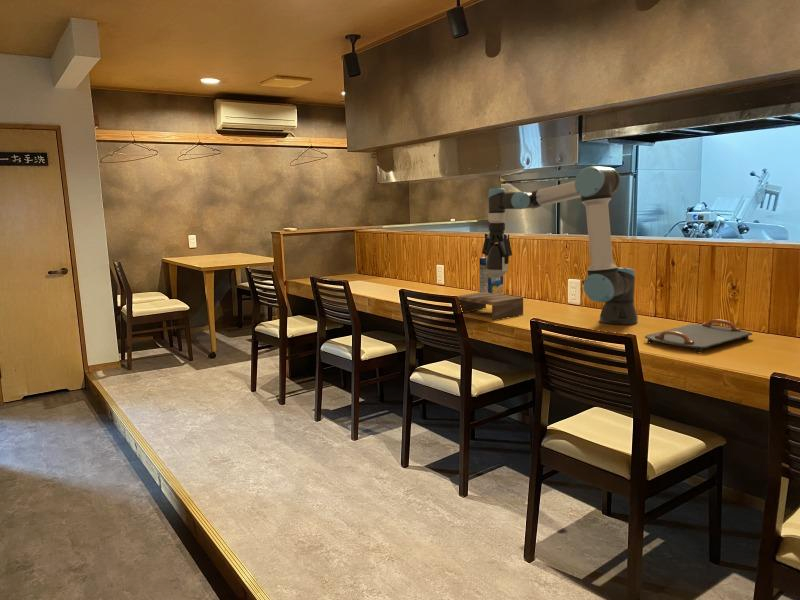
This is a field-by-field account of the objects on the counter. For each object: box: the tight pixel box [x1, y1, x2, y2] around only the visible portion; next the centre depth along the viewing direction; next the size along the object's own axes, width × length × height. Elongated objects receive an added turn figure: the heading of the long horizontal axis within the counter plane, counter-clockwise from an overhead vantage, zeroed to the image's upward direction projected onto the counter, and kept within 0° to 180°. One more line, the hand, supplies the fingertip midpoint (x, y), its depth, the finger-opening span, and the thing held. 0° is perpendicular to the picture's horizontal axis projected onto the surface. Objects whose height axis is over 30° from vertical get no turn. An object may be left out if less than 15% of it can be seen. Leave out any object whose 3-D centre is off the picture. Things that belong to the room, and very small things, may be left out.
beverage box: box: [479, 256, 504, 295], centre depth 324 cm, size 7×11×22 cm, turn 124°
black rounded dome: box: [486, 243, 508, 277], centre depth 281 cm, size 10×10×15 cm
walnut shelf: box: [456, 291, 524, 321], centre depth 280 cm, size 26×18×8 cm
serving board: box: [644, 318, 753, 353], centre depth 218 cm, size 39×23×6 cm, turn 124°
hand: (496, 270), depth 281 cm, fingers closed on black rounded dome, 10 cm apart
